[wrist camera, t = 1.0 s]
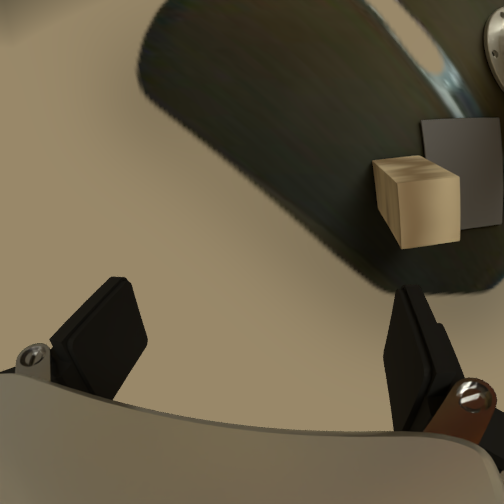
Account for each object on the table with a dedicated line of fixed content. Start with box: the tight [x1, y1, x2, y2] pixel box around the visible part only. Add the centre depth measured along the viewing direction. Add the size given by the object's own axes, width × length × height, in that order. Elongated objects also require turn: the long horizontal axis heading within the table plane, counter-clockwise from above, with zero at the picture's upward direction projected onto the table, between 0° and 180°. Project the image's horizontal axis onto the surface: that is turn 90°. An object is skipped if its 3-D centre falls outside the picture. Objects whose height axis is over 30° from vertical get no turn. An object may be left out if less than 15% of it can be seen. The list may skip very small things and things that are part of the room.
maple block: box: [372, 155, 460, 249], centre depth 25 cm, size 5×5×10 cm
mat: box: [420, 118, 503, 230], centre depth 28 cm, size 10×12×1 cm
